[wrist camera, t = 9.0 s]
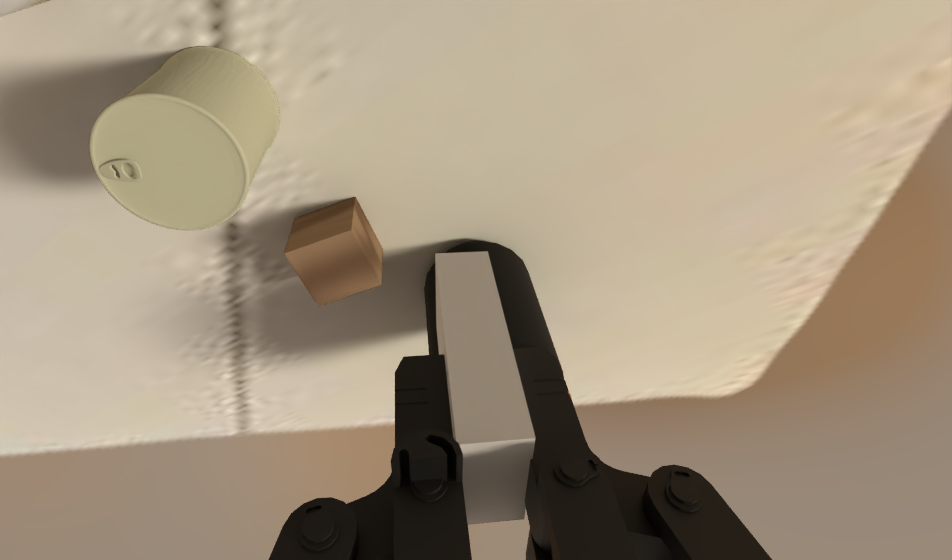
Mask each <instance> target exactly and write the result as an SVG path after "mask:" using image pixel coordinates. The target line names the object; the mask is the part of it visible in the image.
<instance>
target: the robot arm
mask: <svg viewBox="0 0 952 560" xmlns="http://www.w3.org/2000/svg"><path fill="white" fill-rule="evenodd" d="M435 271H436V328H437V338H438V348H439V355H425V356H408V357H403V359H402V361H401V362H400V364H399V366H398V368H397V370H396V372H395V448H394V450H393V454H392V459H391V467H392V473H391V475H390V477H389V478H388V479H387V481H386V482H385V484H383V485H382V486H381V487H380V488H379V489H377V490H376V491H375V492H373V493H371V494H369V495H367V496H365V497H363V498H360V499H358V500H355V501H353V502H350V503H348V504H346V503H345V502H343V501H340V500H337V499H334V498H317V499H314V500H312V501H309V502H307V503H304V504H303V505H301V506H300V507H299V508H297V509H296V510H295V511H294V512H293V513H291V515H290V516H289V518H288V520H287V521H286V522H285V524H284V526H283V528H282V530H281V532H280V535H279V537H278V539H277V542H276V544H275V546H274V549H273V551H272V553H271V556H270V558H269V560H472V558H471V550H470V541H469V534H468V524H479V523H489V522H499V521H509V520H519V519H524V516H525V509H526V510H527V515H528V520H529V524H530V531H529V537H528V544H527V550H526V560H772V559H771V558H770V557H769V555H768V554H767V553H766V552H765V550H764V549H763V548H762V547H761V545H760V544H759V543H758V542H757V540H756V539H755V538H754V537H753V535H752V534H751V533H750V532H749V531H748V529H747V528H746V527H745V526H744V525H743V523H742V522H741V521H740V519H739V518H738V517H737V516H736V514H735V513H734V512H733V511H732V510H731V508H729V506H728V505H727V503H726V502H725V501H724V500H723V498H722V497H721V496H720V495H719V493H718V492H717V491H716V490H715V489H714V487H713V486H712V485H711V484H710V483H709V482H708V481H707V480H706V479H705V478H704V477H703V476H702V475H701V474H699V473H697V472H695V471H693V470H691V469H689V468H687V467H683V466H678V465H668V466H662V467H660V468H659V469H657V470H655V471H654V472H653V473H652V475H651V477H647V476H643V475H638V474H634V473H629V472H624V471H620V470H617V469H614V468H612V467H610V466H608V465H606V464H604V463H603V462H602V461H601V460H600V459H599V458H598V457H597V456H596V455H595V454H593V452H592V451H591V450H590V448H589V447H588V444H587V442H586V440H585V437H584V434H583V431H582V428H581V426H580V423H579V420H578V417H577V414H576V411H575V408H574V405H573V402H572V399H571V397H570V394H569V393H568V388H567V385H566V382H565V380H564V376H563V373H562V371H561V368H560V365H559V362H558V360H557V359H556V358H555V357H554V356H553V355H552V354H551V353H550V352H549V350H548V349H547V348H546V347H533V348H517V349H513V348H512V344H511V340H510V336H509V333H508V329H507V325H506V321H505V317H504V313H503V309H502V305H501V301H500V297H499V294H498V290H497V286H496V282H495V278H494V274H493V270H492V266H491V262H490V258H489V254H488V251H483V252H459V253H435Z"/></svg>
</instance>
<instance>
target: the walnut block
mask: <svg viewBox="0 0 952 560" xmlns="http://www.w3.org/2000/svg"><path fill="white" fill-rule="evenodd" d="M284 255H285V256H286V258H287V259H288V261H289V262H290V264H291V265H292V267H293V268H294V270H295V271H296V273H297V274H298V276H299V277H300V279H301V280H302V282H303V283H304V285H305V286H306V288H307V289H308V291H309V293H310V294H311V296H312V297H313V299H314V300H315V302H316V303H317V305H318V306H322V305H325V304H327V303H330V302H333V301H336V300H339V299H342V298H345V297H348V296H351V295H354V294H357V293H359V292H362V291H365V290H368V289H371V288H374V287H377V286H380V285H382V255H383V249H382V247H381V245H380V243H379V241H378V239H377V237H376V235H375V233H374V231H373V229H372V227H371V226H370V224H369V222H368V220H367V218H366V216H365V214H364V212H363V210H362V208H361V206H360V204H359V203H358V201H357V199H356V197H353V198H350V199H348V200H345V201H342V202H339V203H337V204H334V205H331V206H328V207H325V208H323V209H320V210H317V211H314V212H312V213H309V214H306V215H303V216H300V217H298V218H295V219H294V222H293V225H292V229H291V232H290V235H289V239H288V242H287V245H286V249H285V252H284Z"/></svg>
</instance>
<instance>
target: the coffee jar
mask: <svg viewBox="0 0 952 560" xmlns="http://www.w3.org/2000/svg"><path fill="white" fill-rule="evenodd" d="M483 251H488V254H489V258H490V262H491V266H492V270H493V274H494V278H495V282H496V286H497V290H498V294H499V297H500V301H501V305H502V309H503V313H504V317H505V321H506V325H507V329H508V333H509V336H510V340H511V344H512V348H513V349H517V348H533V347H546V348H547V349H548V350H549V352H550V353H551V354H552V355H553V356H554V357H555V358H556V359H557V360H558V362H559V359H558V356H557V353H556V351H555V348H554V345H553V342H552V339H551V336H550V333H549V330H548V327H547V325H546V322H545V319H544V316H543V313H542V310H541V307H540V304H539V302H538V299H537V296H536V293H535V290H534V287H533V284H532V281H531V279H530V276H529V273H528V271H527V269H526V266H525V264H524V262H523V260H522V259H521V258H520V257H518V256H517V255H516V254H515V253H514V252H513V251H512V250H510V249H508V248H506V247H504V246H502V245H499V244H497V243H491V242H483V241H476V242H469V243H463V244H461V245H459V246H457V247H454V248H452V249H450V250H448V251H447V252H446V253H459V252H483ZM424 292H425V305H426V318H427V332H428V345H429V355H439V348H438V338H437V328H436V271H435V263H434V264H433V266H432V268H431V269H430V271H429V272H428V274H427V277H426V282H425V287H424ZM559 365H560V362H559ZM560 368H561V365H560ZM561 371H562V368H561ZM562 373H563V371H562ZM568 393H569V391H568ZM569 394H570V393H569ZM570 397H571V395H570Z"/></svg>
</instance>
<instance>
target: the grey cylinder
mask: <svg viewBox="0 0 952 560" xmlns="http://www.w3.org/2000/svg"><path fill="white" fill-rule="evenodd" d="M46 1H49V0H0V17H1V16H4V15H7V14H10V13H13V12H16V11H19V10H22V9H25V8H28V7H31V6H34V5H37V4H40V3H43V2H46Z"/></svg>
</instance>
